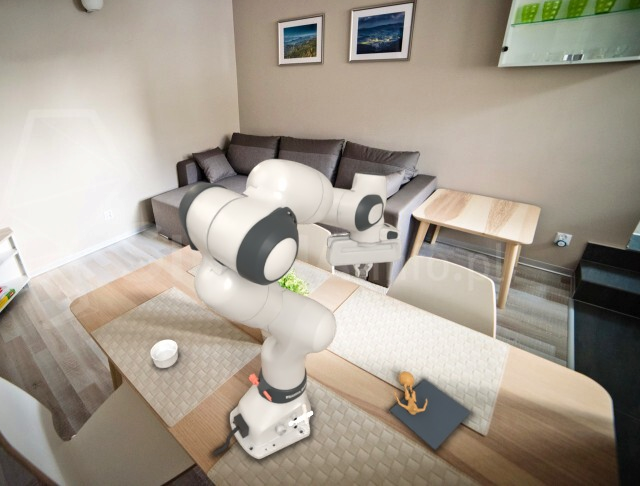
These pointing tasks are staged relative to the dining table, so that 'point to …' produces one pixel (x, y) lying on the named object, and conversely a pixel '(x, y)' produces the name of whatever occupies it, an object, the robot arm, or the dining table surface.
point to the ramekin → (164, 353)
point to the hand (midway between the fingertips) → (361, 276)
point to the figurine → (408, 381)
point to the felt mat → (431, 414)
